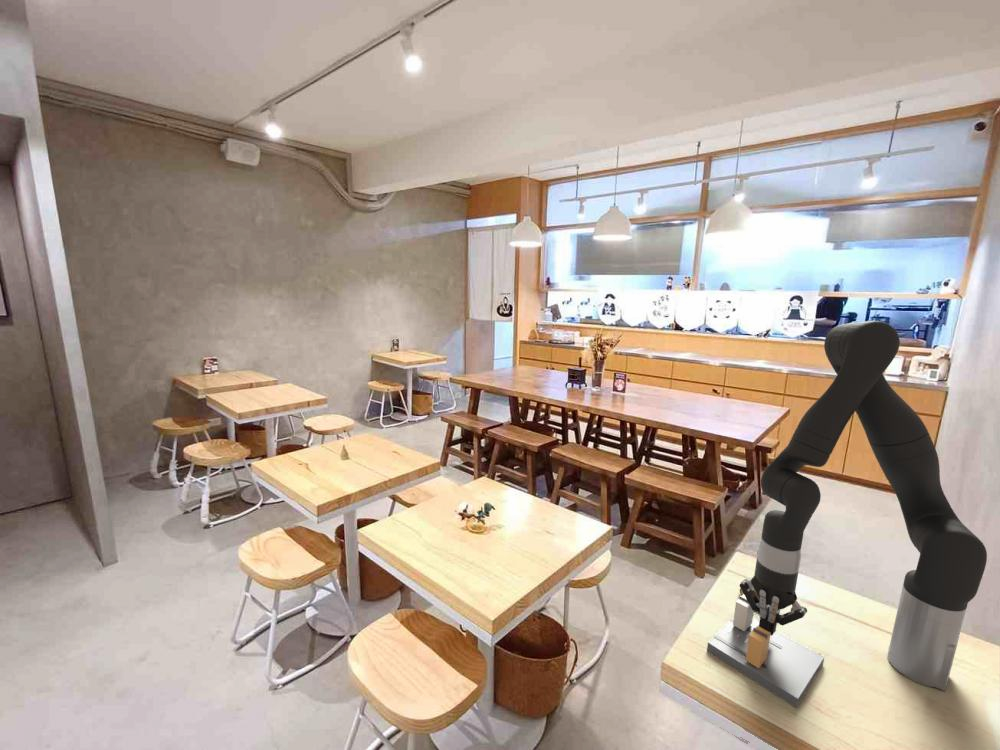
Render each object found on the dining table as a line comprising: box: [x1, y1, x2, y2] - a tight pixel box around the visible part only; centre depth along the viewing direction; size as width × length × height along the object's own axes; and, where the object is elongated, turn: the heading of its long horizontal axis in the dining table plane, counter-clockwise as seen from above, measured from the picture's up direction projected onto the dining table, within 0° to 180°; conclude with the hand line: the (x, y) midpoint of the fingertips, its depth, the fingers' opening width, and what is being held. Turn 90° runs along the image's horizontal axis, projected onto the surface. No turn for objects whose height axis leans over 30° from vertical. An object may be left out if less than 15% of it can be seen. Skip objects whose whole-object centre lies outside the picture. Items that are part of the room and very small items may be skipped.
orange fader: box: [746, 626, 771, 668], centre depth 91 cm, size 3×4×6 cm, turn 130°
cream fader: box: [733, 594, 755, 632], centre depth 100 cm, size 3×4×6 cm, turn 129°
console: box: [706, 616, 825, 709], centre depth 95 cm, size 17×16×2 cm
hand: (766, 633), depth 97 cm, fingers closed
